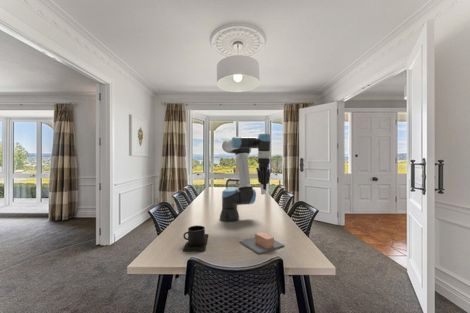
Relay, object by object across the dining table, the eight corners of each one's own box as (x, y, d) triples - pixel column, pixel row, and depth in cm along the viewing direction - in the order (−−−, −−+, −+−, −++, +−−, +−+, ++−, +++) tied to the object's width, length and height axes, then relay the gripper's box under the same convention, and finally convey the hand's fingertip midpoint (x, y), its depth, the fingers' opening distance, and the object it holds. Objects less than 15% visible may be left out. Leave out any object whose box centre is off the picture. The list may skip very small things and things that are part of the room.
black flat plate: (176, 253, 118) (205, 252, 119) (176, 252, 118) (205, 250, 119) (185, 235, 143) (208, 234, 144) (185, 234, 143) (208, 233, 144)
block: (255, 233, 129) (266, 239, 121) (262, 232, 132) (273, 237, 123) (255, 242, 129) (266, 248, 121) (261, 240, 132) (273, 246, 124)
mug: (184, 240, 133) (184, 225, 133) (205, 240, 134) (205, 225, 134) (182, 247, 124) (182, 231, 123) (204, 247, 124) (204, 230, 124)
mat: (239, 242, 131) (239, 240, 131) (263, 236, 141) (263, 234, 141) (259, 254, 116) (259, 252, 116) (284, 246, 126) (284, 244, 126)
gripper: (253, 157, 149) (252, 192, 150) (265, 158, 138) (265, 196, 139) (262, 157, 153) (261, 191, 154) (275, 158, 142) (274, 195, 143)
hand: (263, 194), depth 146 cm, fingers closed
